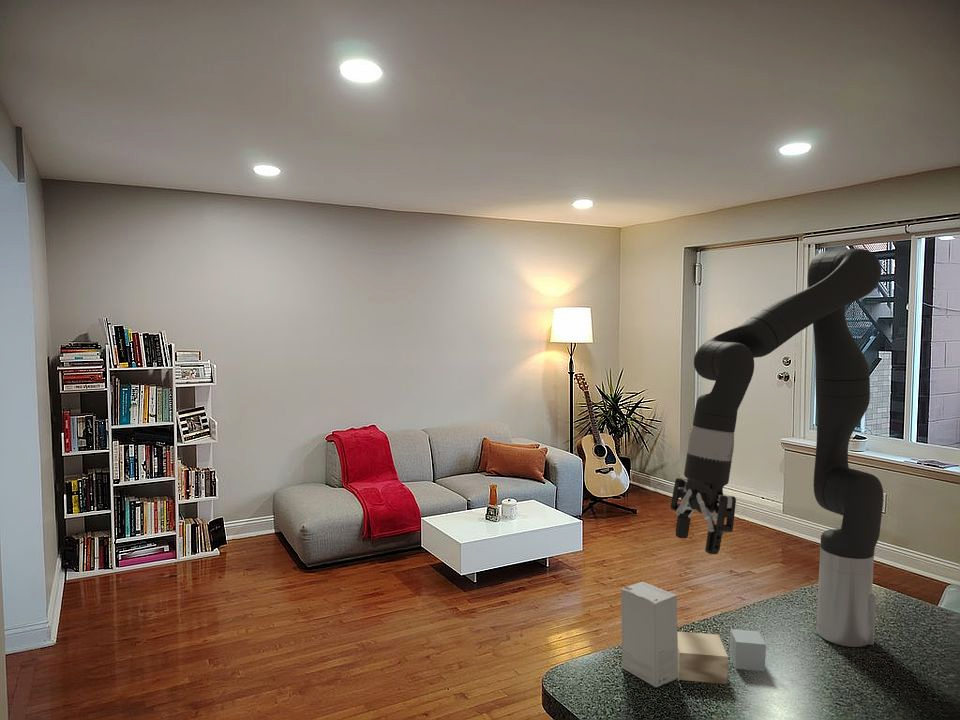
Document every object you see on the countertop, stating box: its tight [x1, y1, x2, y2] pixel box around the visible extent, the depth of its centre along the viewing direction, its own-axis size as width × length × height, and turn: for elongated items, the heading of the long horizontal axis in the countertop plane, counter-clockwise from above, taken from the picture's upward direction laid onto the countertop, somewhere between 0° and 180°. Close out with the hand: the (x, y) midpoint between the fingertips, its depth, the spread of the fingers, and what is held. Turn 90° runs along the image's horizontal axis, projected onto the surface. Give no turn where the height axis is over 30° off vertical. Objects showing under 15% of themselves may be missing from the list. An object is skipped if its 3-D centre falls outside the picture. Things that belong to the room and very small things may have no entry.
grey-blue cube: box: [729, 628, 767, 672], centre depth 122 cm, size 5×5×5 cm
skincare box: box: [620, 581, 678, 688], centre depth 117 cm, size 8×6×15 cm
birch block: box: [677, 630, 729, 685], centre depth 119 cm, size 8×8×5 cm
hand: (695, 545), depth 119 cm, fingers open, 8 cm apart
